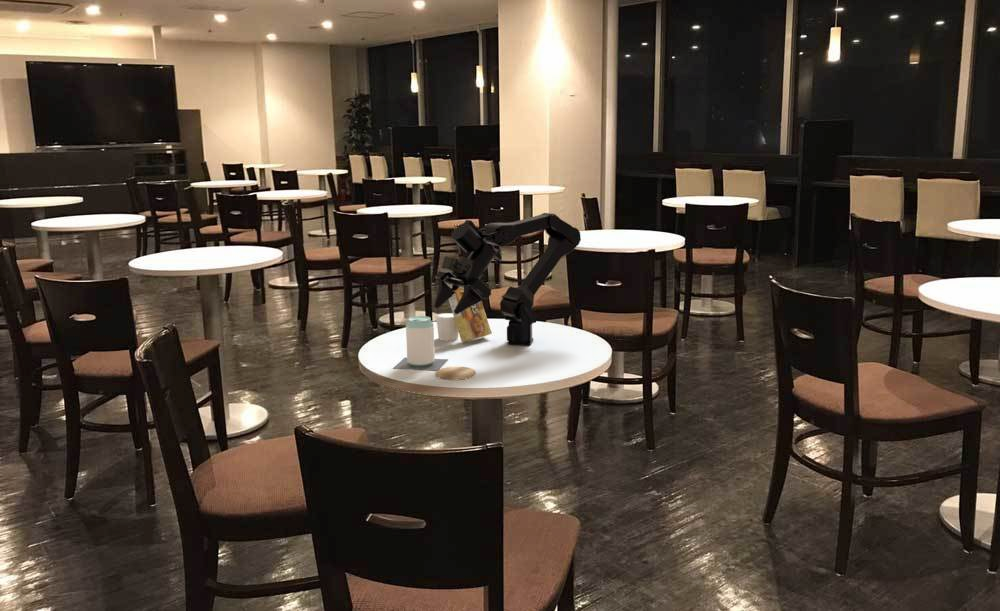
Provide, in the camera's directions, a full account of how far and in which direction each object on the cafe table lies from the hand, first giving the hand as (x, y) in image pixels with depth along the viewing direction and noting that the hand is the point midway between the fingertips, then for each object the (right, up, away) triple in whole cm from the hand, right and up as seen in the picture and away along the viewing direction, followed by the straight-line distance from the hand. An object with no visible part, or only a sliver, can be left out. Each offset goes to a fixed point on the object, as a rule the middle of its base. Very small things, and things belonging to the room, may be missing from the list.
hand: (445, 310), depth 215 cm
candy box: (+8, -8, +20) cm, 23 cm away
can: (-6, -14, -2) cm, 15 cm away
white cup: (-1, -9, +23) cm, 25 cm away
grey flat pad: (-6, -14, -2) cm, 15 cm away
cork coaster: (+3, -16, -11) cm, 19 cm away
